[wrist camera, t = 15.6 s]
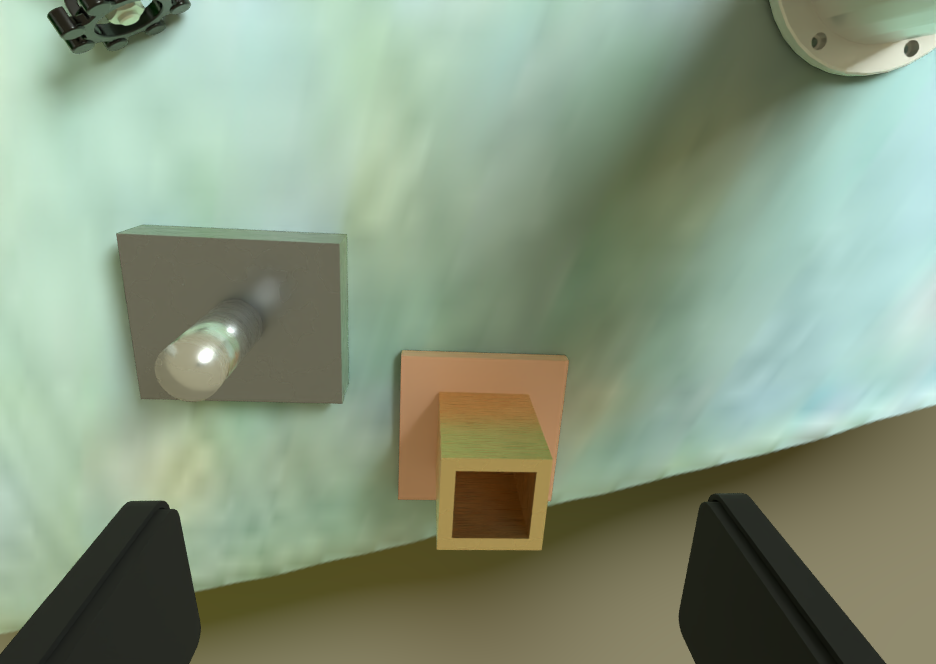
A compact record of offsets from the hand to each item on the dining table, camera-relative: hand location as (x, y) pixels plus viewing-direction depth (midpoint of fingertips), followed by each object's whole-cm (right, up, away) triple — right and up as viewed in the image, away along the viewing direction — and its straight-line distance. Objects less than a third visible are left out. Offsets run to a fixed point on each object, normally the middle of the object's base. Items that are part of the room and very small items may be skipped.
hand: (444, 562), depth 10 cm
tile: (+1, -2, +29) cm, 30 cm away
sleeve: (+1, -3, +29) cm, 29 cm away
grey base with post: (-13, +6, +26) cm, 29 cm away
